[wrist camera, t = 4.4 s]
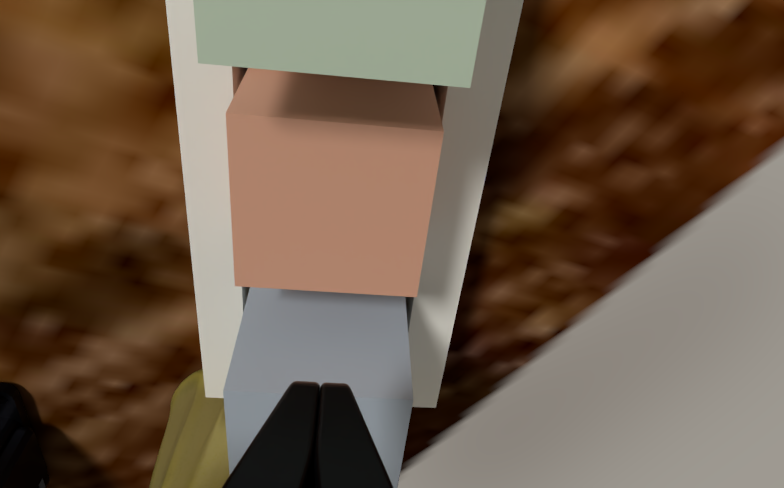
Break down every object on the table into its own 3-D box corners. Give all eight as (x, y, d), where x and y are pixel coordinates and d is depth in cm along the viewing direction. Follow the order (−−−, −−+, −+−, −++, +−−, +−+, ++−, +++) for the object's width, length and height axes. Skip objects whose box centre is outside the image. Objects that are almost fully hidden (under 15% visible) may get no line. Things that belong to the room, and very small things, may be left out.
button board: (219, 348, 23) (205, 397, 21) (166, -341, 12) (127, -374, 10) (429, 359, 23) (435, 407, 21) (555, -285, 13) (589, -305, 11)
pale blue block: (259, 366, 20) (231, 502, 16) (256, 262, 18) (223, 391, 14) (388, 373, 21) (393, 507, 17) (403, 271, 18) (413, 399, 14)
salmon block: (264, 184, 19) (234, 286, 15) (262, 40, 16) (225, 113, 12) (406, 195, 19) (416, 297, 15) (425, 55, 17) (444, 131, 12)
